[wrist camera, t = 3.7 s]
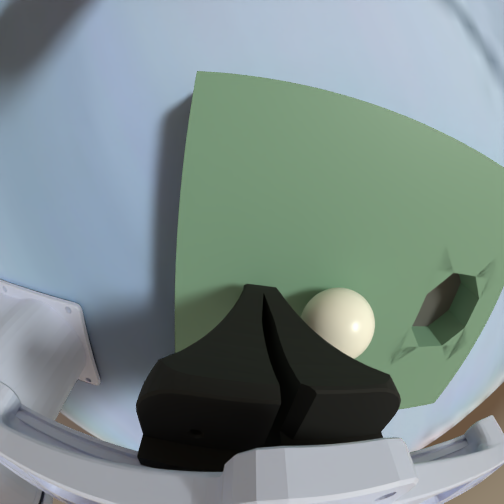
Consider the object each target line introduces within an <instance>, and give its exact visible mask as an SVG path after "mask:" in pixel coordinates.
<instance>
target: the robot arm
mask: <svg viewBox="0 0 504 504" xmlns="http://www.w3.org/2000/svg"><path fill="white" fill-rule="evenodd" d="M69 308H70V309H71V310H70V309H69ZM77 379H79V380H81V381H84V382H87V383H90V384H93V385H99V384H100V382H101V380H100V377H99V374H98V371H97V367H96V364H95V361H94V357H93V353H92V350H91V346H90V342H89V338H88V334H87V329H86V325H85V321H84V316H83V311H82V308H81V307H80V305H78V304H77V303H74V302H71V301H67V300H63V299H60V298H56V297H53V296H50V295H46V294H43V293H40V292H36V291H33V290H30V289H27V288H24V287H21V286H18V285H15V284H12V283H9V282H6V281H3V280H0V504H52V503H53V497H54V498H56V499H58V500H59V501H61V502H63V503H65V504H443V503H445V502H447V501H449V500H451V499H453V498H455V497H457V496H458V495H460V494H462V493H464V492H466V491H467V490H469V489H471V488H473V487H474V486H475V485H477V484H478V483H480V482H481V481H483V480H484V479H485V478H487V477H488V476H489V475H491V474H492V473H493V472H494V471H496V470H497V469H498V468H499V467H500V466H502V465H503V464H504V434H503V432H502V430H501V429H500V427H499V425H498V423H497V422H496V420H495V418H494V417H493V415H491V416H489V417H487V418H484V419H482V420H480V421H478V422H476V423H475V424H473V425H472V426H471V427H470V428H469V429H468V430H467V431H466V433H465V434H464V435H462V436H460V437H457V438H454V439H451V440H449V441H446V442H443V443H440V444H437V445H434V446H431V447H428V448H425V449H421V450H418V451H414V452H410V453H409V450H408V447H407V445H406V443H405V442H404V441H403V439H402V438H383V436H382V433H381V431H382V430H383V429H384V428H385V426H386V425H387V424H388V423H389V422H390V420H391V419H392V418H393V417H394V415H395V414H396V412H397V411H398V409H399V407H400V403H401V398H400V394H399V392H398V390H397V388H396V386H395V384H394V382H393V380H392V378H391V376H390V374H387V373H384V372H382V371H379V370H377V369H374V368H372V367H370V366H367V365H365V364H363V363H361V362H359V361H357V360H355V359H353V358H351V357H350V356H348V355H346V354H345V353H343V352H341V351H340V350H338V349H337V348H335V347H334V346H332V345H331V344H330V343H328V342H327V341H326V340H324V339H323V338H322V337H321V336H319V335H318V334H317V333H316V332H315V331H314V330H312V329H311V328H310V327H309V326H308V325H307V324H306V323H305V322H304V321H303V320H302V319H301V318H300V316H299V315H298V314H297V313H296V312H295V311H294V310H293V308H292V307H291V306H290V305H289V304H288V302H287V301H286V300H285V298H284V297H283V296H282V294H281V293H280V292H279V290H278V289H277V288H276V287H270V286H262V285H254V284H245V285H244V286H243V291H242V293H241V295H240V297H239V299H238V300H237V302H236V303H235V305H234V306H233V308H232V309H231V310H230V312H229V313H228V314H227V315H226V316H225V318H224V319H223V320H222V321H221V322H220V323H219V324H218V325H217V326H216V327H215V328H214V329H213V330H211V331H210V332H209V333H208V334H206V335H205V336H204V337H202V338H201V339H200V340H198V341H197V342H195V343H193V344H192V345H190V346H188V347H187V348H185V349H183V350H181V351H179V352H177V353H174V354H172V355H169V356H167V357H164V358H162V359H159V360H158V362H157V363H156V364H155V366H154V367H153V369H152V370H151V372H150V373H149V375H148V377H147V379H146V380H145V382H144V384H143V386H142V389H141V392H140V394H139V397H138V400H137V403H136V412H137V415H138V419H139V422H140V425H141V429H142V432H143V437H142V440H141V444H140V448H139V451H135V450H131V449H127V448H124V447H121V446H118V445H114V444H111V443H108V442H105V441H102V440H100V439H97V438H94V437H91V436H89V435H86V434H84V433H81V432H79V431H76V430H74V429H71V428H69V427H67V426H64V425H62V424H60V423H58V422H56V421H55V420H56V418H57V416H58V414H59V412H60V410H61V408H62V406H63V404H64V403H65V401H66V399H67V397H68V395H69V393H70V392H71V390H72V388H73V386H74V384H75V383H76V381H77Z"/></svg>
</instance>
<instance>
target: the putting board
mask: <svg viewBox="0 0 504 504" xmlns="http://www.w3.org/2000/svg"><path fill="white" fill-rule="evenodd" d="M245 284H254V285H262V286H270V287H276V288H277V289H278V290H279V292H280V293H281V294H282V296H283V297H284V298H285V300H286V301H287V302H288V304H289V305H290V306H291V307H292V308H293V310H294V311H295V312H296V313H297V314H298V315H299V316H300V318H301V315H302V312H303V310H304V308H305V306H306V305H307V303H308V302H309V301H310V300H311V299H312V298H313V297H314V296H315V295H317V294H318V293H320V292H322V291H324V290H327V289H330V288H347V289H350V290H353V291H355V292H357V293H359V294H360V295H361V296H363V297H364V298H365V299H366V301H367V302H368V303H369V305H370V306H371V308H372V311H373V314H374V318H375V329H374V334H373V337H372V340H371V342H370V344H369V345H368V347H367V348H366V350H365V351H364V352H363V353H362V354H360V355H359V356H358V357H356V358H355V360H357V361H359V362H361V363H363V364H365V365H367V366H370V367H372V368H374V369H377V370H379V371H382V372H384V373H387V374H390V376H391V378H392V380H393V382H394V384H395V386H396V388H397V390H398V392H399V394H400V398H401V403H400V407H399V409H404V408H410V407H416V406H421V405H426V404H431V403H434V402H435V401H436V400H437V399H438V397H439V396H440V395H441V393H442V392H443V391H444V389H445V388H446V387H447V385H448V384H449V382H450V381H451V380H452V378H453V377H454V375H455V374H456V372H457V371H458V370H459V368H460V367H461V365H462V363H463V362H464V360H465V359H466V357H467V356H468V354H469V352H470V351H471V349H472V347H473V346H474V344H475V342H476V341H477V339H478V337H479V335H480V334H481V332H482V330H483V328H484V326H485V324H486V322H487V321H488V319H489V317H490V315H491V313H492V311H493V309H494V306H495V304H496V302H497V300H498V298H499V296H500V293H501V291H502V289H503V286H504V167H502V166H501V165H499V164H498V163H496V162H494V161H493V160H491V159H490V158H488V157H486V156H485V155H483V154H481V153H480V152H478V151H476V150H474V149H473V148H471V147H469V146H467V145H465V144H464V143H462V142H460V141H458V140H456V139H454V138H452V137H450V136H448V135H446V134H444V133H442V132H440V131H438V130H436V129H434V128H432V127H429V126H427V125H425V124H423V123H420V122H418V121H416V120H413V119H411V118H408V117H406V116H404V115H401V114H398V113H396V112H393V111H391V110H388V109H385V108H382V107H379V106H377V105H374V104H371V103H368V102H365V101H361V100H358V99H355V98H352V97H348V96H345V95H341V94H338V93H334V92H330V91H326V90H323V89H318V88H314V87H310V86H305V85H301V84H296V83H291V82H286V81H280V80H274V79H268V78H262V77H255V76H247V75H239V74H229V73H218V72H203V71H197V74H196V80H195V85H194V91H193V97H192V103H191V109H190V116H189V123H188V130H187V137H186V145H185V153H184V162H183V171H182V181H181V191H180V203H179V215H178V230H177V248H176V271H175V353H177V352H179V351H181V350H183V349H185V348H187V347H188V346H190V345H192V344H193V343H195V342H197V341H198V340H200V339H201V338H202V337H204V336H205V335H206V334H208V333H209V332H210V331H211V330H213V329H214V328H215V327H216V326H217V325H218V324H219V323H220V322H221V321H222V320H223V319H224V318H225V316H226V315H227V314H228V313H229V312H230V310H231V309H232V308H233V306H234V305H235V303H236V302H237V300H238V299H239V297H240V295H241V293H242V291H243V286H244V285H245Z"/></svg>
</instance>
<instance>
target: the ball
mask: <svg viewBox="0 0 504 504" xmlns="http://www.w3.org/2000/svg"><path fill="white" fill-rule="evenodd" d="M301 319H302V320H303V321H304V322H305V323H306V324H307V325H308V326H309V327H310V328H311V329H312V330H314V331H315V332H316V333H317V334H318V335H319V336H321V337H322V338H323V339H324V340H326V341H327V342H328V343H330V344H331V345H332V346H334V347H335V348H337V349H338V350H340V351H341V352H343V353H345V354H346V355H348V356H350V357H351V358H353V359H355V358H356V357H358V356H359V355H360V354H362V353H363V352H364V351H365V350H366V348H367V347H368V345H369V344H370V342H371V340H372V337H373V334H374V329H375V318H374V314H373V311H372V308H371V306H370V305H369V303H368V302H367V301H366V299H365V298H364V297H363V296H361V295H360V294H359V293H357V292H355V291H353V290H350V289H347V288H330V289H327V290H324V291H322V292H320V293H318V294H317V295H315V296H314V297H313V298H312V299H311V300H310V301H309V302H308V303H307V305H306V306H305V308H304V310H303V312H302V315H301Z"/></svg>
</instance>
